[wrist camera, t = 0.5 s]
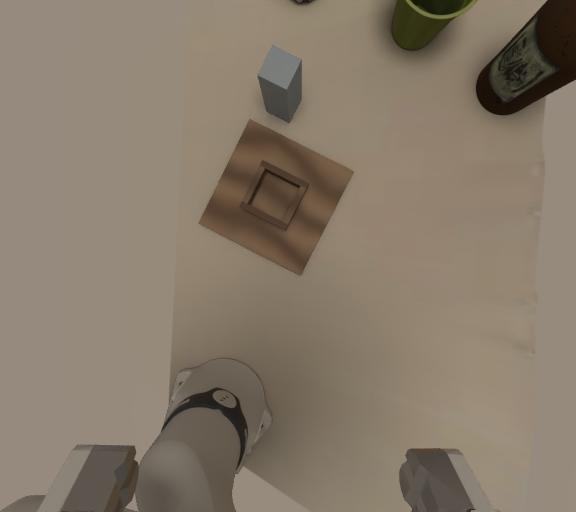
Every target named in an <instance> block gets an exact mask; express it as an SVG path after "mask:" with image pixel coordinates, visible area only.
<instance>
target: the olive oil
mask: <svg viewBox="0 0 576 512" xmlns="http://www.w3.org/2000/svg"><path fill="white" fill-rule="evenodd" d="M574 80H576V0H547V2H546V3H545V4H544V5H543V6H542V7H541V8H540V9H539V10H538V11H537V12H536V14H535V15H534V16H533V17H532V18H531V19H530V20H529V21H528V22H527V23H526V25H525V26H524V27H523V28H522V29H521V30H520V31H519V32H518V33H517V34H516V35H515V36H514V37H513V38H512V40H511V41H510V42H509V43H508V44H507V45H506V46H505V47H504V48H503V49H502V50H501V51H500V52H499V53H498V54H497V55H496V56H495V57H494V58H493V59H492V60H491V61H490V63H489V64H488V65H487V66H486V67H485V68H484V69H483V70H482V72H481V73H480V75H479V77H478V80H477V86H476V90H477V96H478V99H479V101H480V102H481V104H482V105H483V106H484V107H485V108H486V109H487V110H488V111H490V112H492V113H495V114H499V115H508V114H512V113H515V112H517V111H519V110H521V109H523V108H525V107H526V106H528V105H530V104H532V103H533V102H535V101H537V100H539V99H541V98H542V97H544V96H546V95H548V94H550V93H552V92H554V91H555V90H557V89H559V88H561V87H563V86H565V85H567V84H568V83H570V82H572V81H574Z"/></svg>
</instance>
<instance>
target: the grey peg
mask: <svg viewBox="0 0 576 512" xmlns="http://www.w3.org/2000/svg"><path fill="white" fill-rule="evenodd" d="M258 79H259V83H260V87H261V91H262V95H263V99H264V103H265V107H266V111H267V112H269V113H271V114H273V115H275V116H277V117H279V118H281V119H283V120H285V121H287V122H289V123H290V121H291V119H292V117H293V115H294V113H295V111H296V109H297V107H298V105H299V103H300V101H301V90H302V59H300V58H298V57H296V56H294V55H292V54H290V53H288V52H286V51H284V50H282V49H280V48H278V47H276V46H274V45H272V46H271V48H270V50H269V52H268V55H267V57H266V59H265V61H264V63H263V65H262V67H261V69H260V71H259V73H258Z"/></svg>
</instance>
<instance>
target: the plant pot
mask: <svg viewBox="0 0 576 512" xmlns="http://www.w3.org/2000/svg"><path fill="white" fill-rule="evenodd" d="M476 2H477V0H397V3H396V8H395V13H394V17H393V22H392V35H393V37H394V40H395V41H396V43H397V44H398V45H400V46H401V47H402V48H405V49H413V50H417V49H420V48H423V47H424V46H426V45H427V44H428V43H429V42H430V41H431V40H432V39H433V38H434V37H435V36H436V35H437V34H438V33H439V32H440V31H441V30H442V29H443V28H444V27H445V26H446V25H447V24H448V23H449V22H450V21H451V20H453V19H454V18H456V17H457V16H459V15H461V14H463V13H464V12H466V11H467V10H469V9H470V8H471V7H472V6H473V5H474V4H475V3H476Z"/></svg>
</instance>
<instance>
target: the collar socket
mask: <svg viewBox="0 0 576 512" xmlns="http://www.w3.org/2000/svg"><path fill="white" fill-rule="evenodd" d="M353 172H354V171H352V170H350V169H348V168H346V167H344V166H342V165H340V164H338V163H336V162H334V161H332V160H330V159H328V158H326V157H324V156H322V155H320V154H318V153H316V152H314V151H312V150H310V149H308V148H306V147H304V146H302V145H300V144H299V143H297V142H295V141H293V140H291V139H289V138H287V137H285V136H283V135H281V134H279V133H277V132H275V131H273V130H271V129H269V128H267V127H265V126H263V125H261V124H259V123H257V122H255V121H253V120H251V119H250V120H249V122H248V124H247V126H246V128H245V130H244V132H243V134H242V136H241V138H240V140H239V142H238V144H237V146H236V148H235V150H234V152H233V154H232V156H231V158H230V160H229V162H228V164H227V166H226V168H225V170H224V172H223V174H222V176H221V179H220V181H219V183H218V185H217V187H216V189H215V191H214V193H213V195H212V197H211V199H210V201H209V203H208V205H207V207H206V209H205V211H204V213H203V215H202V217H201V219H200V221H199V224H201V225H203V226H205V227H207V228H209V229H211V230H213V231H215V232H217V233H219V234H221V235H223V236H225V237H227V238H229V239H230V240H232V241H234V242H236V243H238V244H240V245H242V246H244V247H246V248H248V249H250V250H252V251H254V252H256V253H258V254H260V255H262V256H264V257H266V258H268V259H270V260H271V261H273V262H275V263H277V264H279V265H281V266H283V267H285V268H287V269H289V270H291V271H293V272H295V273H297V274H299V275H301V273H302V271H303V269H304V267H305V266H306V264H307V262H308V260H309V258H310V256H311V254H312V252H313V250H314V248H315V246H316V244H317V242H318V240H319V238H320V236H321V234H322V232H323V231H324V229H325V227H326V225H327V223H328V221H329V219H330V217H331V215H332V213H333V211H334V209H335V207H336V205H337V203H338V201H339V199H340V197H341V195H342V194H343V192H344V190H345V188H346V186H347V184H348V182H349V180H350V178H351V176H352V174H353Z"/></svg>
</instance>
